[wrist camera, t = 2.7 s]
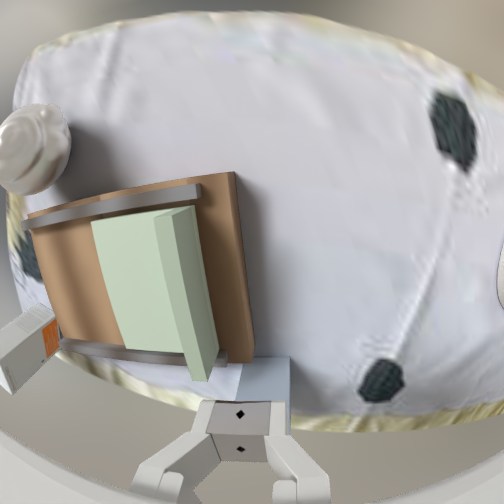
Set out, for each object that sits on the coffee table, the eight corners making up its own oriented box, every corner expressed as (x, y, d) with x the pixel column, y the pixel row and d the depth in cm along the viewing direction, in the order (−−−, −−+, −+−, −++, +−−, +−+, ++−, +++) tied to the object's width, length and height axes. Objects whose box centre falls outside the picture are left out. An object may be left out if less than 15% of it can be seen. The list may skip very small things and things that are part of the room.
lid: (194, 204, 19) (171, 215, 15) (219, 348, 23) (207, 381, 19) (96, 219, 21) (63, 232, 17) (130, 343, 24) (108, 370, 20)
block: (289, 356, 26) (289, 407, 20) (290, 387, 28) (290, 437, 21) (244, 357, 27) (233, 407, 20) (249, 388, 28) (240, 436, 22)
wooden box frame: (234, 171, 22) (223, 172, 18) (255, 344, 26) (250, 371, 22) (45, 209, 25) (19, 216, 21) (81, 335, 29) (62, 352, 25)
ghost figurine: (80, 202, 24) (5, 224, 14) (29, 176, 24) (-36, 188, 14) (105, 115, 21) (28, 102, 12) (49, 101, 21) (-18, 93, 12)
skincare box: (63, 347, 31) (13, 397, 19) (43, 334, 31) (-7, 379, 19) (59, 312, 29) (-2, 362, 17) (38, 300, 29) (-21, 343, 17)
